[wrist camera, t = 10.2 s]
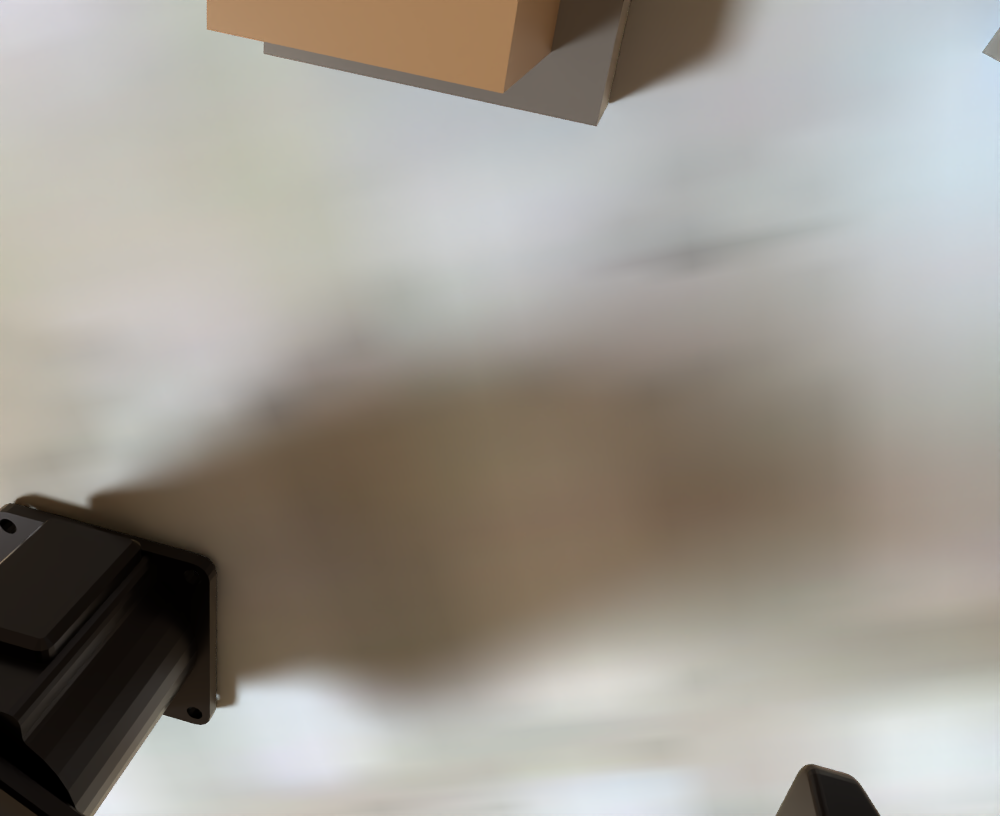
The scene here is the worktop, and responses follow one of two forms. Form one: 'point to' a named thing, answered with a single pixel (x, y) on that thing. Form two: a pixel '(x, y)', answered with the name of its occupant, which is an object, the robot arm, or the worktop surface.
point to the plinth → (542, 81)
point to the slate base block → (994, 47)
